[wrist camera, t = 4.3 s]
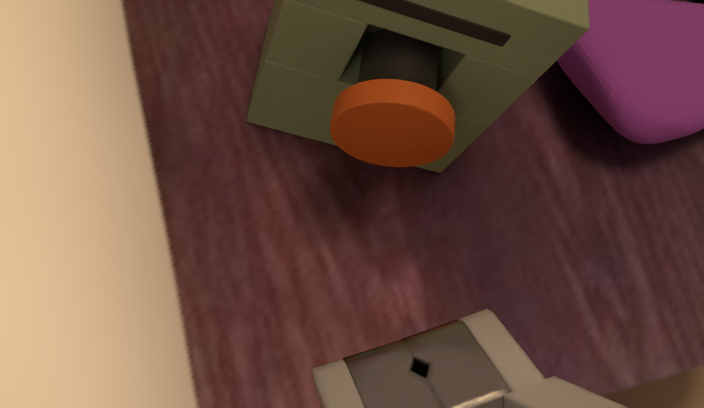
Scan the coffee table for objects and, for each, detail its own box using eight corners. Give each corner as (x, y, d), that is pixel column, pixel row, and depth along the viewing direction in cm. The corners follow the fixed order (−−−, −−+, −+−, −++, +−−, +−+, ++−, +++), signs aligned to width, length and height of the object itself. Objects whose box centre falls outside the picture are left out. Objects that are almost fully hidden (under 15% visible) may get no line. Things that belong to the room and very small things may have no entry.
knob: (423, 178, 26) (477, 124, 22) (315, 149, 25) (350, 87, 21) (430, 97, 27) (481, 33, 23) (329, 67, 26) (364, -5, 22)
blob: (713, 50, 42) (781, 1, 37) (737, 198, 37) (817, 163, 33) (522, -15, 39) (572, -77, 34) (523, 140, 34) (580, 91, 30)
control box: (440, 176, 32) (590, 31, 21) (245, 123, 30) (304, -67, 19) (447, 77, 34) (585, -97, 24) (268, 22, 32) (332, -196, 21)
